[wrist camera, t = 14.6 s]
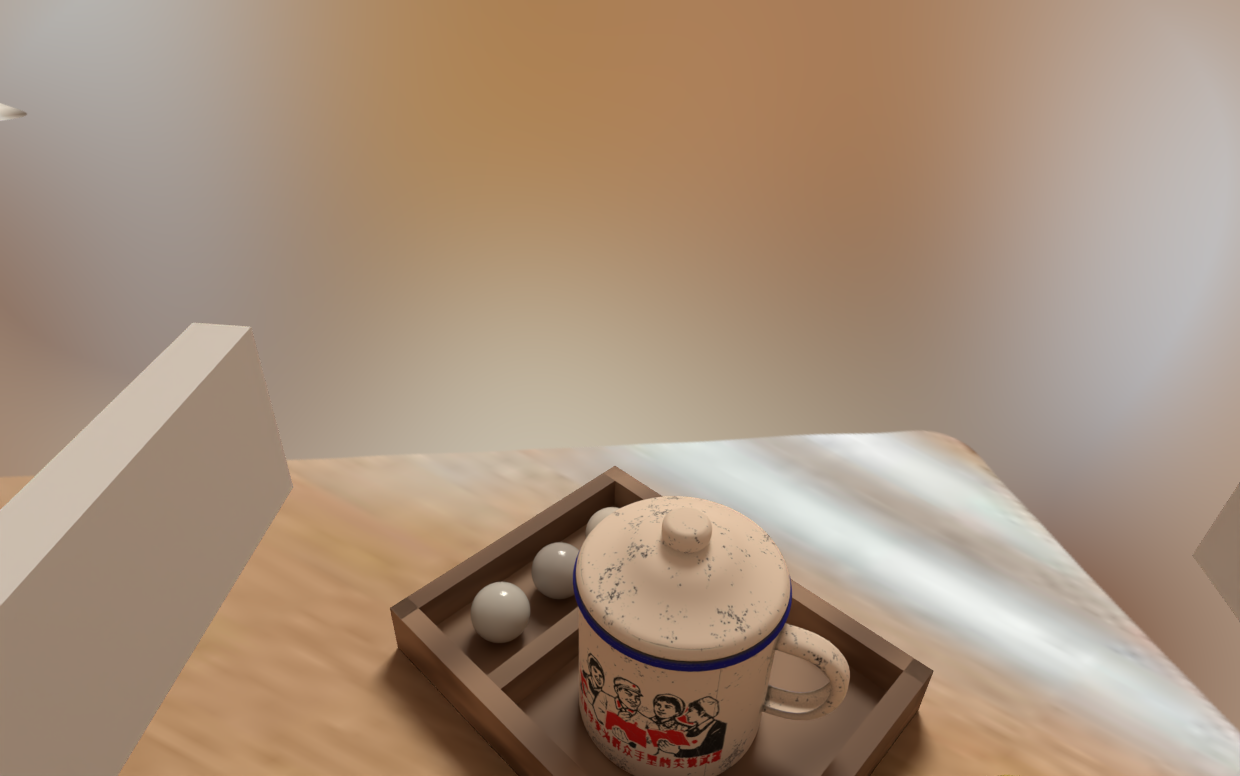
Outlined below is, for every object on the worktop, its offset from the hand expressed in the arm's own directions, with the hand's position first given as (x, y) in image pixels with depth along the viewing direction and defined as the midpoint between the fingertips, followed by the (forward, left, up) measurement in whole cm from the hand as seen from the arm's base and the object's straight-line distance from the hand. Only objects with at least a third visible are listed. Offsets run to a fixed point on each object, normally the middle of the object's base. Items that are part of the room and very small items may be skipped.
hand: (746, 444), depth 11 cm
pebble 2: (-18, +12, -27) cm, 34 cm away
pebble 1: (-18, +8, -27) cm, 33 cm away
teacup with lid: (-8, +12, -27) cm, 30 cm away
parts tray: (-11, +12, -28) cm, 32 cm away
